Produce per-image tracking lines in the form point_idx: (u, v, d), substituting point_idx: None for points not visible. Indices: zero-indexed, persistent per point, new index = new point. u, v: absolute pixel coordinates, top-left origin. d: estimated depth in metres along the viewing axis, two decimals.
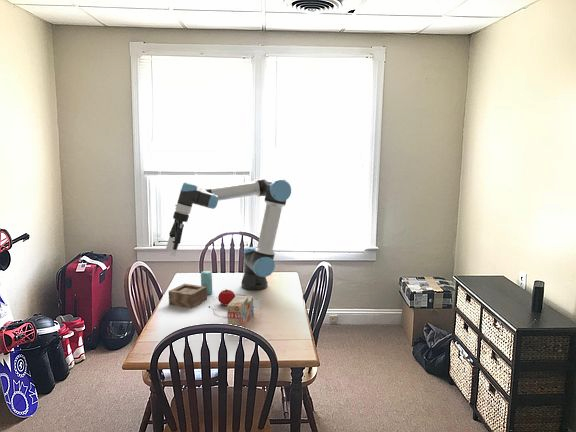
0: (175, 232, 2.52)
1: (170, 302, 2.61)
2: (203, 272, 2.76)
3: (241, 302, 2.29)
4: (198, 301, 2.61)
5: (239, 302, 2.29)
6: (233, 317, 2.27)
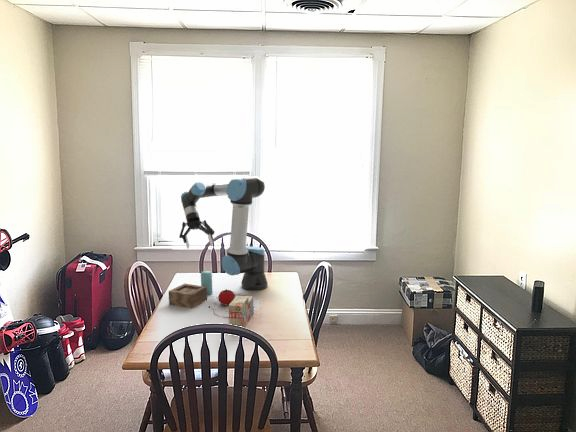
0: (188, 231, 2.88)
1: (170, 302, 2.61)
2: (203, 272, 2.76)
3: (242, 302, 2.30)
4: (198, 301, 2.61)
5: (240, 302, 2.30)
6: (234, 317, 2.27)
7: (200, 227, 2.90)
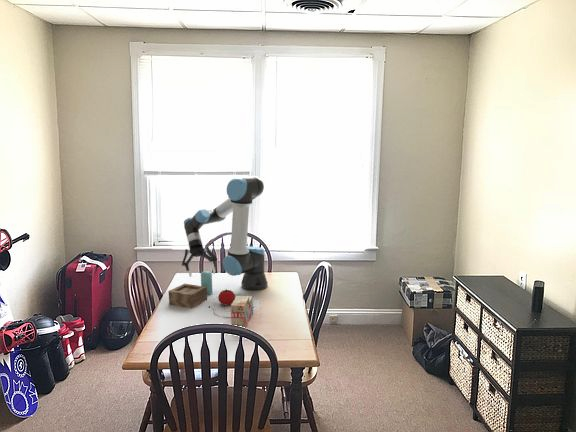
0: (191, 258, 2.86)
1: (170, 302, 2.61)
2: (203, 272, 2.76)
3: (244, 302, 2.30)
4: (198, 301, 2.61)
5: (242, 302, 2.30)
6: (236, 317, 2.27)
7: (203, 254, 2.88)
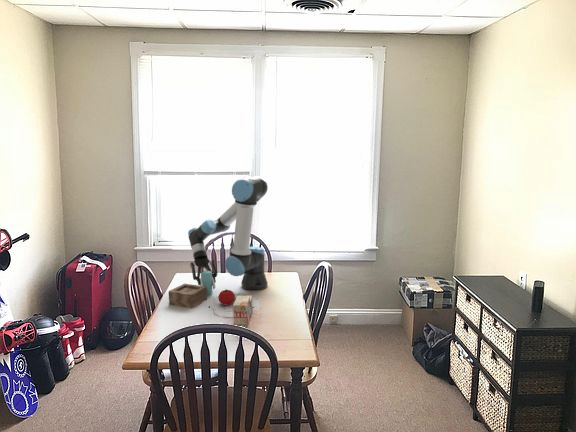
0: None
1: (170, 302, 2.61)
2: (203, 272, 2.76)
3: (246, 301, 2.31)
4: (198, 301, 2.61)
5: (244, 301, 2.30)
6: (239, 316, 2.28)
7: (206, 266, 2.82)
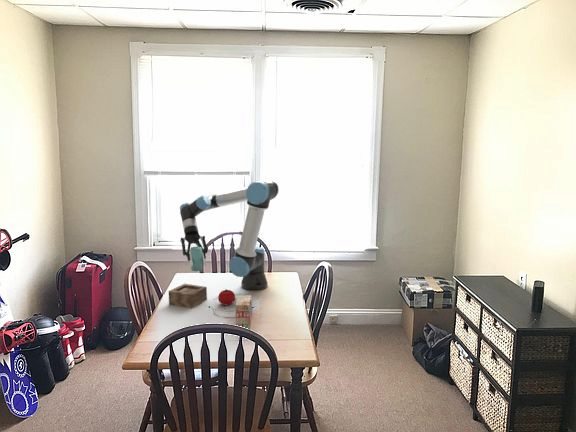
0: None
1: (170, 302, 2.61)
2: (193, 248, 2.70)
3: (248, 301, 2.31)
4: (198, 301, 2.61)
5: (246, 301, 2.31)
6: (241, 316, 2.28)
7: (196, 242, 2.75)
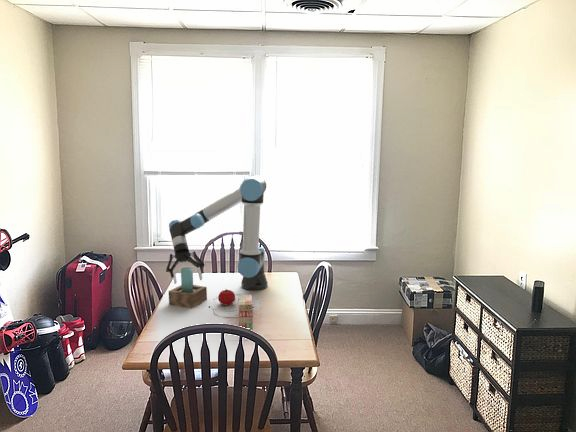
0: None
1: (170, 302, 2.61)
2: (183, 269, 2.61)
3: (250, 300, 2.32)
4: (198, 301, 2.61)
5: (248, 300, 2.32)
6: (244, 316, 2.28)
7: (189, 259, 2.67)
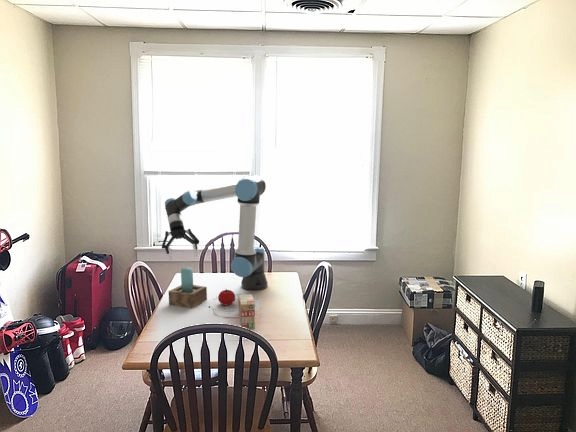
0: (171, 241, 2.73)
1: (170, 302, 2.61)
2: (183, 269, 2.62)
3: (251, 300, 2.32)
4: (198, 301, 2.61)
5: (250, 300, 2.32)
6: (246, 315, 2.29)
7: (184, 236, 2.75)
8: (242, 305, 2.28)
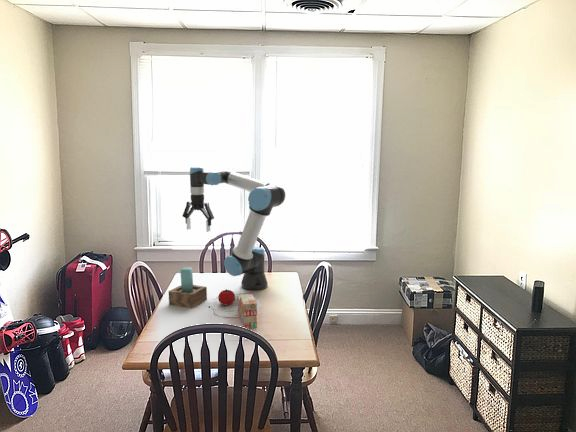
0: None
1: (170, 302, 2.61)
2: (183, 269, 2.62)
3: (253, 299, 2.33)
4: (198, 301, 2.61)
5: (251, 300, 2.33)
6: (249, 315, 2.29)
7: None
8: (244, 305, 2.28)
